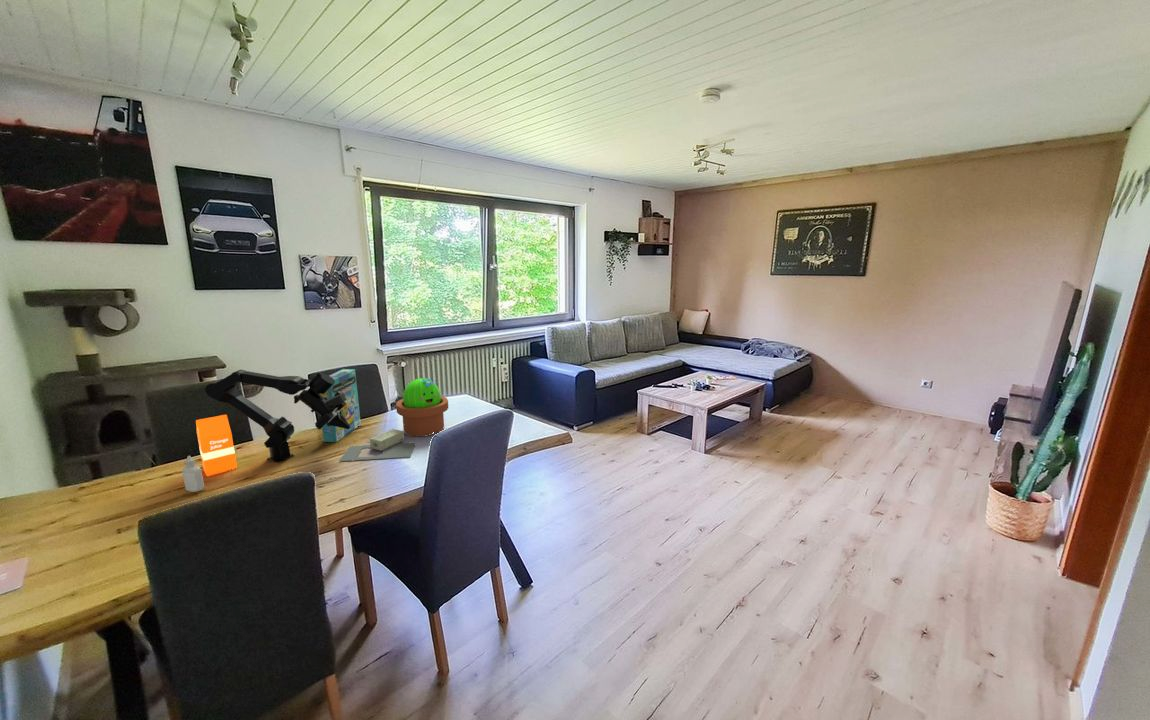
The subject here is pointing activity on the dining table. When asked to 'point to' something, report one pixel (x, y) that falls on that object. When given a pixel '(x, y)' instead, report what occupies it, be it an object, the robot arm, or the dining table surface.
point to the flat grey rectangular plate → (389, 453)
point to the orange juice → (216, 444)
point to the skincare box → (386, 439)
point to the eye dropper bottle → (192, 476)
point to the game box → (348, 386)
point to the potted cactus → (422, 408)
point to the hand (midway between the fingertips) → (349, 427)
